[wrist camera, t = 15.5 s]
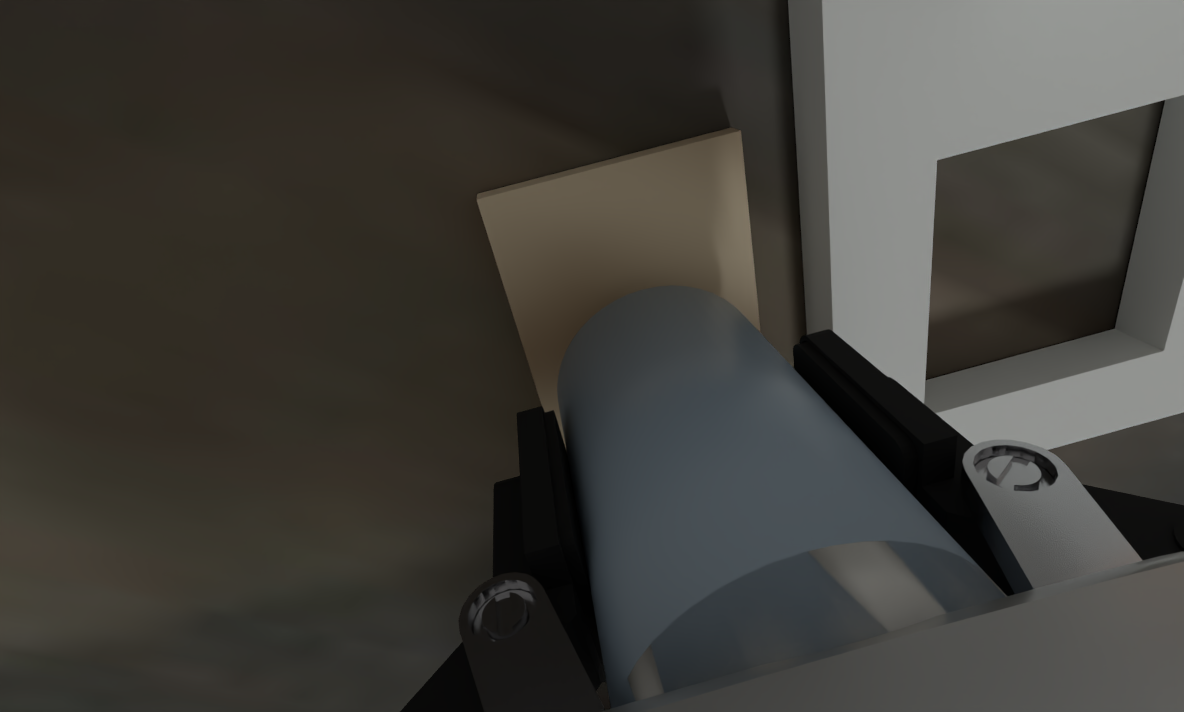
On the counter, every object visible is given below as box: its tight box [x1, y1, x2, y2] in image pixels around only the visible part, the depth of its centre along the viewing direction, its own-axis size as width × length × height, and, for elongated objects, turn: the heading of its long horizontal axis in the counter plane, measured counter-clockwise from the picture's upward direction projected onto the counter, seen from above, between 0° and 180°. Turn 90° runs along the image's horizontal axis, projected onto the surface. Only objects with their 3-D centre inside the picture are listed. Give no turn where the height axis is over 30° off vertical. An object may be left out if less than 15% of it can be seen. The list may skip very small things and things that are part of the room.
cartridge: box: [557, 285, 1007, 709], centre depth 10 cm, size 5×5×9 cm
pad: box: [476, 127, 761, 448], centre depth 16 cm, size 10×6×1 cm, turn 13°
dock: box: [788, 0, 1184, 450], centre depth 11 cm, size 22×12×6 cm, turn 13°
